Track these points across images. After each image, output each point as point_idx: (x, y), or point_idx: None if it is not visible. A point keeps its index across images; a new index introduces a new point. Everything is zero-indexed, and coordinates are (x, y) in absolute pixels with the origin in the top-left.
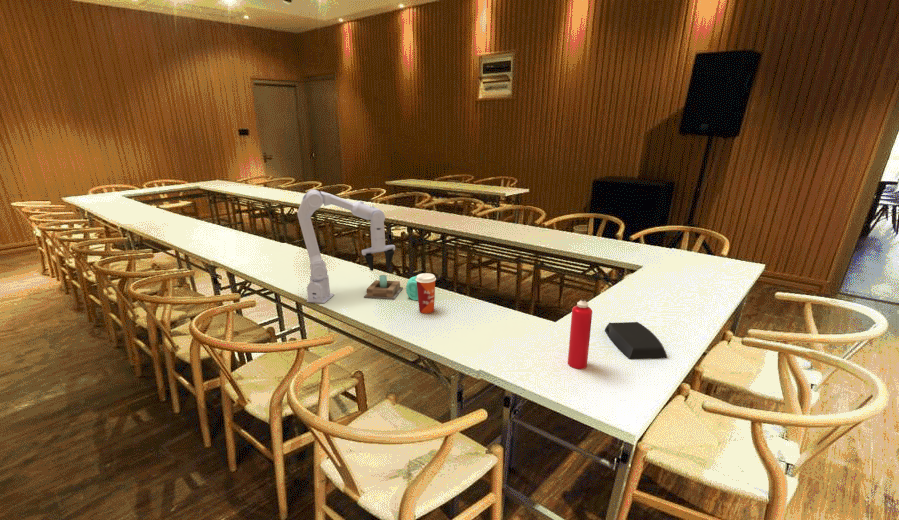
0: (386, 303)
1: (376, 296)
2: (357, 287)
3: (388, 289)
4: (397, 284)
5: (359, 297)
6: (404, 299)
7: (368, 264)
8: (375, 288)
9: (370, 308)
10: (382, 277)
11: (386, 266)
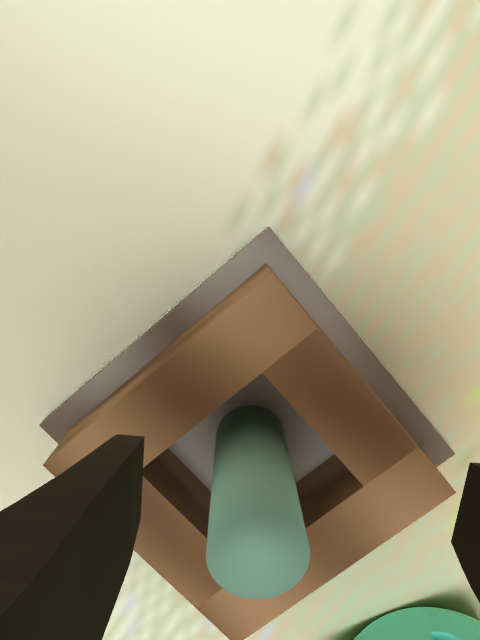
0: (147, 618)
1: None
2: (114, 105)
3: (222, 605)
4: (381, 540)
5: (17, 379)
6: (299, 637)
7: (53, 488)
8: None
9: None
10: (226, 586)
11: (468, 474)
